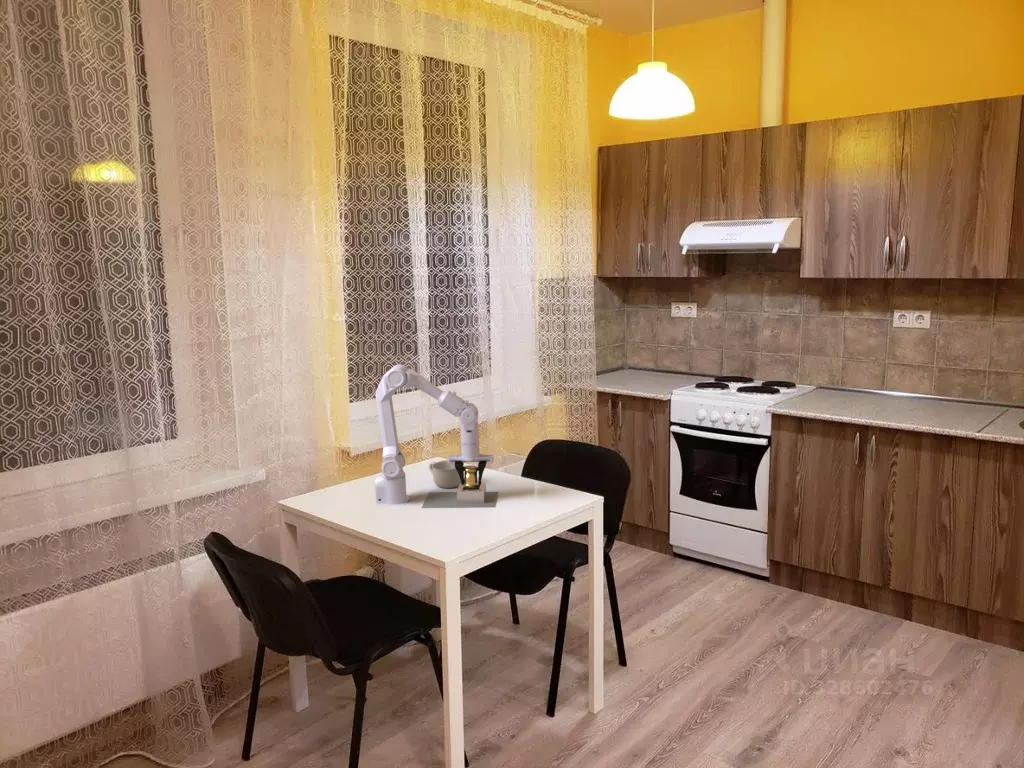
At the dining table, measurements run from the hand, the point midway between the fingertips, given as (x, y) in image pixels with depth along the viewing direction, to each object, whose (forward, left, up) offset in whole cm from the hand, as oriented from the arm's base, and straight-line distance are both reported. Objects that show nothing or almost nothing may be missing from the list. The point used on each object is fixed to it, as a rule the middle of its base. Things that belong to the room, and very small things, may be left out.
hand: (471, 484), depth 243 cm
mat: (-4, 0, -6) cm, 7 cm away
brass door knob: (0, 0, -2) cm, 3 cm away
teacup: (-11, +17, -6) cm, 21 cm away
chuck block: (0, 0, -5) cm, 5 cm away
